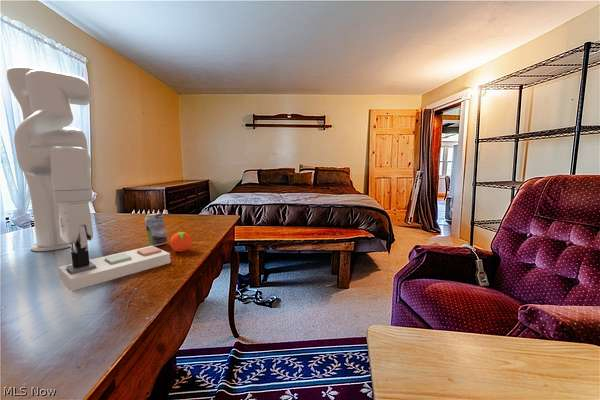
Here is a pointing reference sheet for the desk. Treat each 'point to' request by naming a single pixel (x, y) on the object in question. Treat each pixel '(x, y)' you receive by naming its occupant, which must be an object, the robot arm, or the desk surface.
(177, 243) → the clementine
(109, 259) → the sage button
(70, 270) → the charcoal button
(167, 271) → the desk surface
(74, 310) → the desk surface
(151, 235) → the beverage can
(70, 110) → the robot arm
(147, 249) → the terracotta button
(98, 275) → the panel
